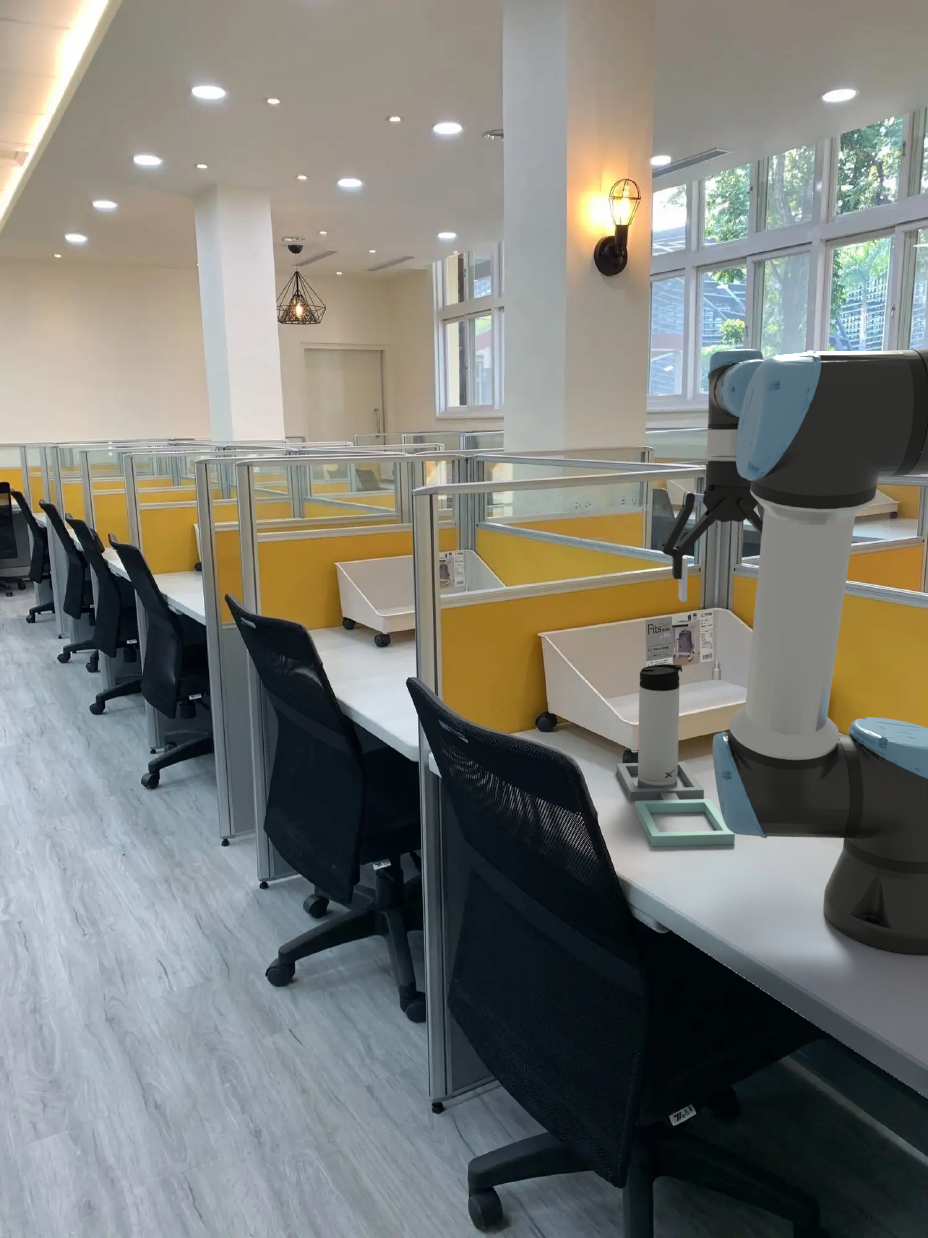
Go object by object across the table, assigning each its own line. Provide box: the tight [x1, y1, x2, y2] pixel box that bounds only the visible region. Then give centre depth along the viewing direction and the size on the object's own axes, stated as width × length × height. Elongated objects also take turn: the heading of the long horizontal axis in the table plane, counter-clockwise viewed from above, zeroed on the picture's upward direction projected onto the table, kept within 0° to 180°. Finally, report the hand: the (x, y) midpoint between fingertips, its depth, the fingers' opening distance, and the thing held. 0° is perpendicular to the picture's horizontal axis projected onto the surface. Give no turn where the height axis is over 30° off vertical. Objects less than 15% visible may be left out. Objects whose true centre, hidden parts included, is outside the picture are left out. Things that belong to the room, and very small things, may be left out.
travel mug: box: [637, 663, 683, 789], centre depth 148 cm, size 6×7×20 cm
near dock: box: [634, 798, 736, 847], centre depth 134 cm, size 12×11×2 cm
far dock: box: [616, 761, 705, 802], centre depth 148 cm, size 16×11×2 cm
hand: (727, 599), depth 142 cm, fingers open, 13 cm apart
